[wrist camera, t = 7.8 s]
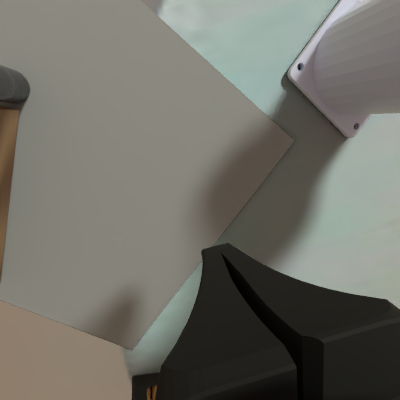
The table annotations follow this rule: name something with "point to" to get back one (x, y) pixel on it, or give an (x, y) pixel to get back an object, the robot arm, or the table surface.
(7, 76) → the hinge post
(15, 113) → the brown rectangular bar
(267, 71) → the table surface
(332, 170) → the table surface
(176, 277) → the mat
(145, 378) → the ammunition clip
